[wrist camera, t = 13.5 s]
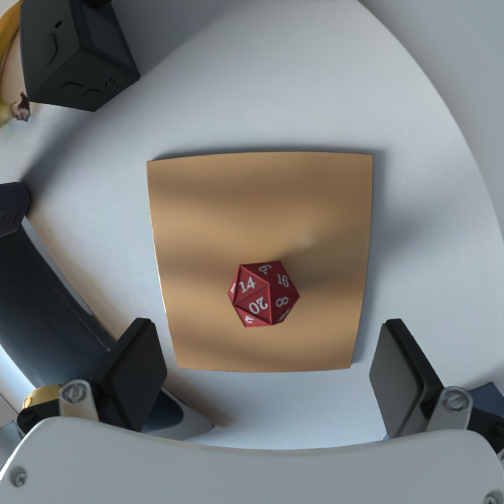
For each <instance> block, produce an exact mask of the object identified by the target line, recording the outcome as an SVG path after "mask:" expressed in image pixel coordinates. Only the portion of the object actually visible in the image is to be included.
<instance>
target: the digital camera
mask: <svg viewBox="0 0 504 504" xmlns="http://www.w3.org/2000/svg"><path fill="white" fill-rule="evenodd" d="M110 1H112V0H24V1H23V2H22V4H21V5H20V19H19V25H20V48H21V60H22V68H23V75H24V82H25V88H26V93H27V99H28V101H30V102H36V103H44V104H51V105H57V106H63V107H69V108H75V109H80V110H86V111H91V112H95V111H96V110H97V109H99V108H100V107H101V106H102V105H104V104H105V103H106V102H108V101H109V100H110V99H112V98H113V97H114V96H116V95H117V94H119V93H120V92H121V91H123V90H124V89H126V88H127V87H129V86H130V85H132V84H133V83H135V82H136V81H138V80H139V79H140V74H139V72H138V70H137V67H136V65H135V63H134V60H133V58H132V55H131V53H130V51H129V48H128V46H127V43H126V41H125V38H124V36H123V33H122V31H121V28H120V26H119V23H118V21H117V18H116V16H115V13H114V11H113V8H112V6H111V3H110Z"/></svg>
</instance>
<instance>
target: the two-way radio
mask: <svg viewBox="0 0 504 504" xmlns="http://www.w3.org/2000/svg"><path fill="white" fill-rule="evenodd" d="M29 203H30V197H29V193H28V190H27V188H26V186H25V185H24V184H23V183H19V182H12V183H5V184H0V238H1V237H3V236H5V235H8V234H10V233H12V232H15V231H17V230H18V228H19V226H20V224H21V222H22V220H23V218H24V215H25V213H26V211H27V208H28V206H29Z"/></svg>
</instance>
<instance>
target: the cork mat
mask: <svg viewBox="0 0 504 504" xmlns="http://www.w3.org/2000/svg"><path fill="white" fill-rule="evenodd" d="M146 164H147V180H148V192H149V204H150V214H151V223H152V231H153V239H154V247H155V254H156V261H157V267H158V274H159V280H160V286H161V291H162V297H163V302H164V307H165V312H166V317H167V322H168V327H169V331H170V336H171V340H172V345H173V349H174V353H175V357H176V361H177V365H178V368H185V369H196V370H210V371H228V372H304V371H322V370H336V369H347V368H350V366H351V362H352V357H353V353H354V348H355V343H356V338H357V333H358V327H359V321H360V316H361V310H362V303H363V296H364V289H365V282H366V274H367V265H368V255H369V245H370V232H371V216H372V190H373V155H370V154H356V153H338V152H306V151H275V152H243V153H225V154H211V155H199V156H188V157H179V158H170V159H162V160H154V161H147V162H146ZM279 260H280V261H281V263H282V265H283V267H284V268H285V270H286V272H287V274H288V275H289V277H290V279H291V281H292V282H293V284H294V286H295V288H296V289H297V291H298V293H299V295H300V298H299V299H298V300H297V302H296V303H295V305H294V306H293V308H292V309H291V311H290V312H289V314H288V315H287V317H286V318H285V320H284V322H282V323H279V324H276V325H273V326H263V327H247V328H245V327H244V325H243V323H242V322H241V320H240V318H239V316H238V315H237V313H236V311H235V309H234V307H233V306H232V303H231V301H230V298H229V296H228V291H229V289H230V286H231V284H232V282H233V279H234V277H235V274H236V272H237V270H238V267H239V265H240V264H252V263H262V262H272V261H279Z"/></svg>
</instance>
